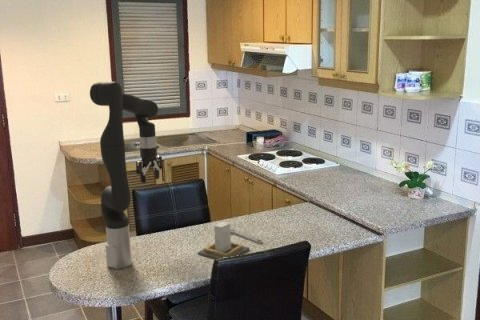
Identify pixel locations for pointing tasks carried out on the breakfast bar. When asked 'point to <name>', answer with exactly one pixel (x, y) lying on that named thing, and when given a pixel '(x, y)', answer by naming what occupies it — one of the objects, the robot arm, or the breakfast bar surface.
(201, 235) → the breakfast bar surface
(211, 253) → the picture frame
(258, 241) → the adjustable wrench
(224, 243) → the skincare box
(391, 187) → the breakfast bar surface
